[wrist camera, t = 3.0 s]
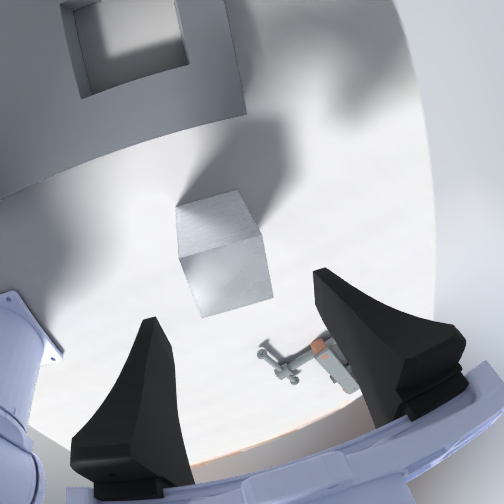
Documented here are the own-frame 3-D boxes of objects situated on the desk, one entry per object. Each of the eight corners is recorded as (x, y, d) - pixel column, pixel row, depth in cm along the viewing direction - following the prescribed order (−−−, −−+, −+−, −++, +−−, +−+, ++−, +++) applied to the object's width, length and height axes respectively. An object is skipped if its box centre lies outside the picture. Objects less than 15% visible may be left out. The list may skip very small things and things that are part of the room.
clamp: (391, 369, 34) (321, 412, 35) (383, 356, 36) (314, 399, 37) (356, 302, 26) (256, 365, 27) (345, 286, 27) (251, 347, 29)
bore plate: (-35, 212, 15) (-52, 229, 13) (-79, 65, 9) (-100, 69, 7) (237, 109, 17) (247, 114, 15) (199, -69, 11) (204, -86, 9)
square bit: (192, 258, 22) (201, 318, 17) (175, 206, 20) (178, 258, 15) (248, 242, 22) (273, 297, 17) (237, 189, 20) (261, 234, 15)
